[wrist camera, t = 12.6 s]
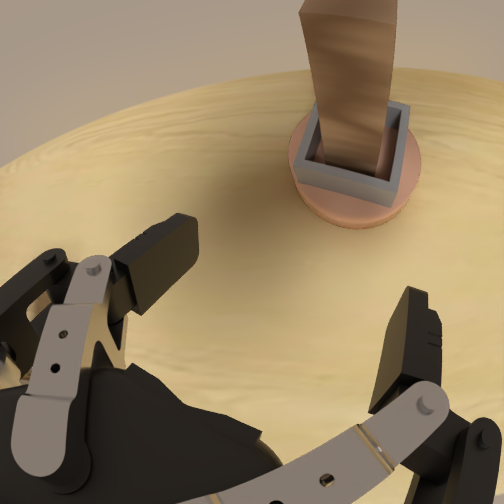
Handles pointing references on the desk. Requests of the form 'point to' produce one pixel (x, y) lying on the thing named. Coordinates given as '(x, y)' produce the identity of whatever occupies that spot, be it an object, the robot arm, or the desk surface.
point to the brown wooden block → (351, 76)
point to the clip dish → (356, 174)
